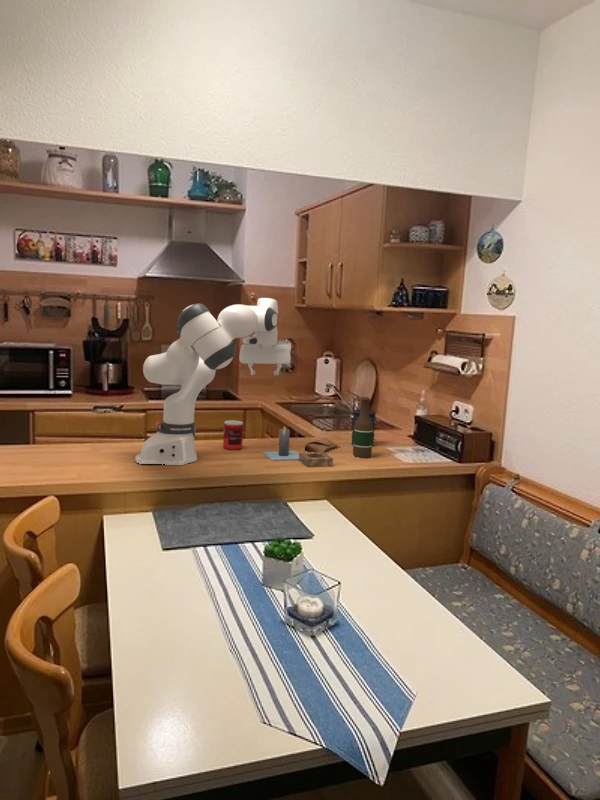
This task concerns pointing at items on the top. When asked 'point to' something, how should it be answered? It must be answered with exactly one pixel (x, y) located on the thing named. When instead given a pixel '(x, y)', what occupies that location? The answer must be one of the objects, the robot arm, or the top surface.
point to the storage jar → (356, 416)
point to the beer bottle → (363, 432)
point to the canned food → (233, 435)
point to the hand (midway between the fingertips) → (264, 375)
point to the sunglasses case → (320, 446)
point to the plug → (284, 442)
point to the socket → (315, 459)
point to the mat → (274, 456)
